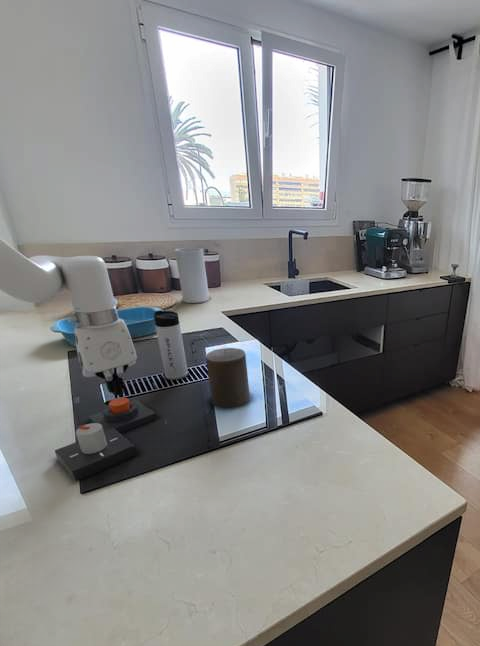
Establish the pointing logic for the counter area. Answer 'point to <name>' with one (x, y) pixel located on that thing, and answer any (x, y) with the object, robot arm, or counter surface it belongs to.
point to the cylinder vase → (192, 275)
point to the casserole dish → (134, 318)
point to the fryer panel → (95, 456)
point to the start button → (119, 405)
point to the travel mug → (171, 344)
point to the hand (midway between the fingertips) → (117, 393)
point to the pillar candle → (228, 377)
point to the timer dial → (91, 438)
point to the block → (124, 417)
